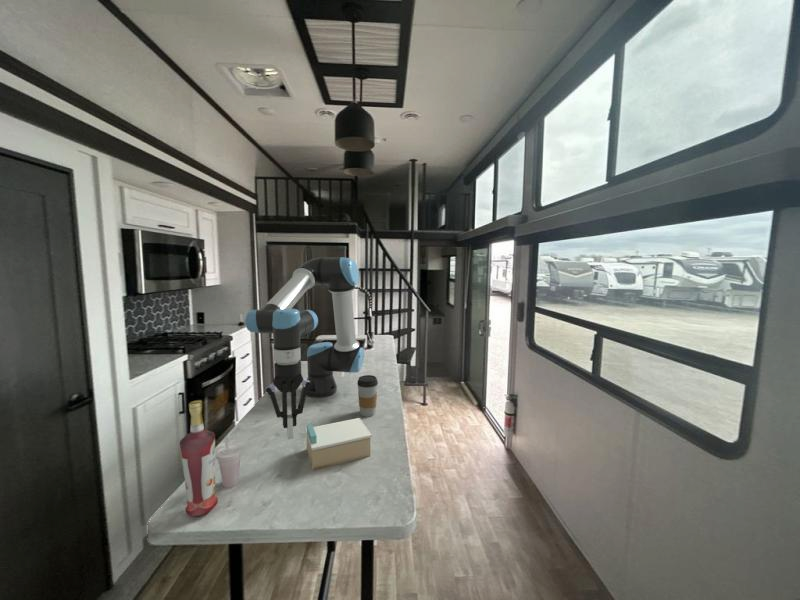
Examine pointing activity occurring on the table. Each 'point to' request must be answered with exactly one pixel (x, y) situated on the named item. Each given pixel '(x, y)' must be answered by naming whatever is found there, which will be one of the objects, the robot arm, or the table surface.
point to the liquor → (199, 464)
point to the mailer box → (338, 453)
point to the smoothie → (229, 463)
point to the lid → (336, 433)
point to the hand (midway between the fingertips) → (290, 436)
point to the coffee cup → (367, 395)
